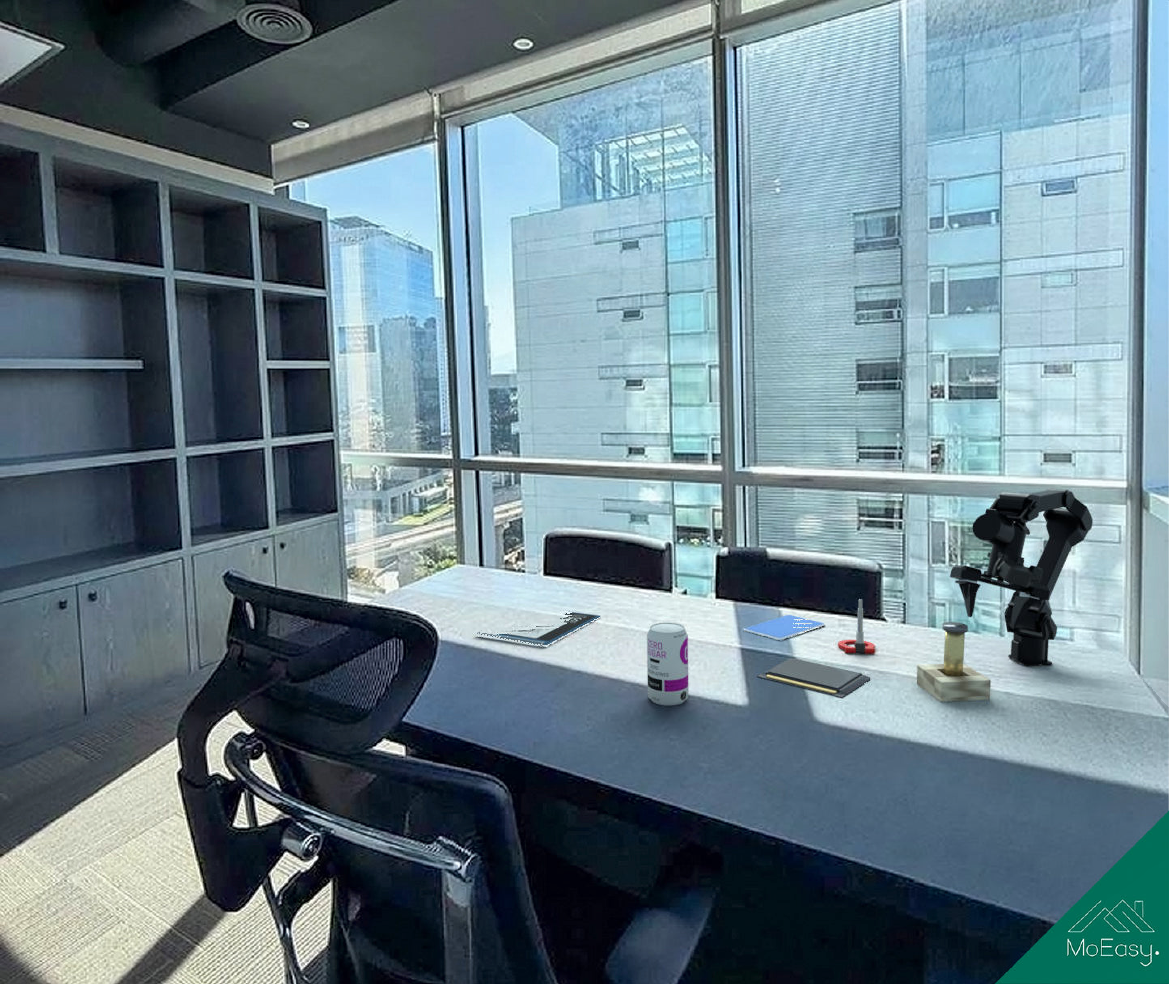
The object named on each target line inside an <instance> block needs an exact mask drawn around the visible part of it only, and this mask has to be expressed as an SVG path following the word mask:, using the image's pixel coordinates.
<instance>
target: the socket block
mask: <svg viewBox="0 0 1169 984" xmlns="http://www.w3.org/2000/svg"><path fill="white" fill-rule="evenodd" d="M943 669H944V663H939V664H938V663H936V664H918V665H917V666H916V684H917V685H918V686H919V687H920V688H922V689H923V690H925V691H926V692H927V693H929V694H930V695H931V696H932V695H933V696H932V697H934V698H935V699H936V700H938V701H941V703H944V702H946V703H947V702H948V701H949V702H966V701H967V702H968V701H985V700H986V701H989V700H988V699H990V700H991V686H992V685H991V682H992V681H991V679H989V677H987V676H985V675H984V674H981V672H979V671H977V670H975V669H974V668H972V667H971V666H969V665H968V664H965V663H964V662H963V676H957V677H947V676H946V675H944V674H943Z"/></svg>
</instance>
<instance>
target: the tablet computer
mask: <svg viewBox="0 0 1169 984" xmlns="http://www.w3.org/2000/svg"><path fill="white" fill-rule="evenodd" d="M794 619H803V620H800V621H799V620H798V621H797V620H794ZM805 619H806V618H804V617H801V616H796V615H792V614H786V615H783V616H780V617H777V618H773V619H770V620H767V621H763V622H760V623H758V624H754V625H751V626H747V627H744V628H742V631H743V630H744V631H743V632H745V631H747V632H746V633H749V632H753V633H756V634H758V635H757V636H759V635H761V636H760V637H762V636H768V637H771V638H774V639H776V640H783V639H786V638H788V637H791V636H794V635H796V634H798V633H800V632H805V631H807V630H810V629H812V628H815V627H821V626H825V627H826V624H825V623H824V622H822V621H821V622H820V621H818V620H817V621H816V620H812V619H809V620H805ZM793 623H794V624H793ZM795 623H812V624H805V625H804V624H799V625H798V624H795ZM793 627H796V628H793ZM797 627H802V628H797ZM803 627H804V628H803ZM805 627H809V628H805ZM810 627H811V628H810ZM821 628H822V627H821ZM794 637H795V636H794ZM776 640H775V641H776ZM786 640H787V639H786ZM783 641H784V640H783Z"/></svg>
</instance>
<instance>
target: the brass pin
mask: <svg viewBox="0 0 1169 984" xmlns="http://www.w3.org/2000/svg"><path fill="white" fill-rule="evenodd" d="M942 630H943V631H944V647H943V648H944V649H943V650H944V652H943V653H944V654H943V664H944V669H943V674H944V675H946V676H947V677H957V676H963V663H964V657H965V655H964V654H965V639H966V638H965V637H966V634H965V633H967V632H968V631H969V630H968V625H967V624H965V623H963V622H957V621H945V622H943V623H942Z"/></svg>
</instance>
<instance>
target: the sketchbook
mask: <svg viewBox="0 0 1169 984" xmlns="http://www.w3.org/2000/svg"><path fill="white" fill-rule="evenodd" d="M571 612H572V613H570V614H567V613H566V614H565V615H572V616H568V617H564V618H563V619H570V620H569V621H566V620H565V621H564V622H557V623H567V624H557V625H555V624H554V625H551V626H536V627H559V628H551V629H545V630H543V629H532V630H531V629H530V630H517V631H516V630H514V631H513V630H512V631H505V632H528V633H513V634H512V633H510V634H509V633H507V634H499V635H498V634H497V635H493V634H487V633H482V634H484V635H485V634H487V636H488V635H490V636H492V635H493V636H495V637H496V636H498V637H499V636H501V637H500V639H501V638H503V639H504V638H506V639H508V640H509V639H511V640H514V641H515V640H517V642H518V640H520V642H521V641H523V642H525V643H526V642H529V643H531V644H532V643H533V644H534V645H535V644H537V645H538V644H540V646H542V645H548V644H550V643H552V642H553V641H555V640H558V639H559V638H561V637H562V636H565V635H567V634H568V633H570V632H573V631H574V630H576V629H577V628H579V627H582V626H583V625H585V624H587V623H590V622H591V621H593V620H594V619H597V618H599V617H600V618H601V615H597V614H590V613H585V612H583V613H582V612H574V611H571ZM600 618H599V619H600ZM560 619H562V618H560ZM590 624H591V623H590ZM526 627H527V626H526ZM502 632H503V631H502ZM529 632H531V633H529ZM476 633H477V634H478V633H479V634H480V631H478V632H476ZM482 634H481V635H482ZM493 636H492V637H493ZM507 636H508V637H507ZM498 637H497V638H498ZM506 639H505V640H506ZM523 642H522V643H523ZM529 643H528V644H529ZM541 644H542V645H541Z"/></svg>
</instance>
